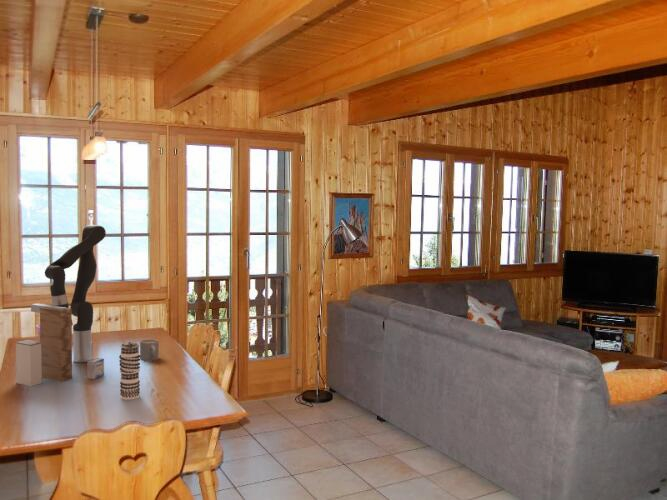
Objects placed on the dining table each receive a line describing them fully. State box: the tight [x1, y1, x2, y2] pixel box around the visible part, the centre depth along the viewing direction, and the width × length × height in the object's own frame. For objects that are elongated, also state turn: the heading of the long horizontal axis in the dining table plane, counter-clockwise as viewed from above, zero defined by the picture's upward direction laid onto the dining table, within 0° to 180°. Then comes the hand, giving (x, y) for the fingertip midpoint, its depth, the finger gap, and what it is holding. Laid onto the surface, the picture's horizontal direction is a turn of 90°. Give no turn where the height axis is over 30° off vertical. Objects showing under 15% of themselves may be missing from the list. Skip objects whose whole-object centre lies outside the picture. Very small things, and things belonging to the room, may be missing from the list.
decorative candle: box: [118, 340, 141, 400], centre depth 274 cm, size 9×9×25 cm
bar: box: [30, 302, 67, 314], centre depth 301 cm, size 4×21×4 cm, turn 64°
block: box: [15, 339, 43, 387], centre depth 291 cm, size 6×10×20 cm, turn 64°
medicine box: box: [86, 357, 105, 380], centre depth 304 cm, size 8×4×9 cm, turn 168°
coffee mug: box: [139, 338, 160, 361], centre depth 339 cm, size 13×10×10 cm
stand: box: [39, 307, 73, 382], centre depth 300 cm, size 7×14×35 cm, turn 64°
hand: (65, 332), depth 320 cm, fingers open, 8 cm apart
